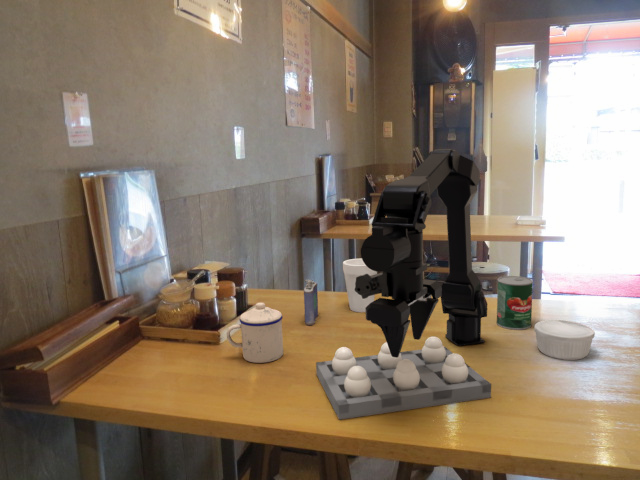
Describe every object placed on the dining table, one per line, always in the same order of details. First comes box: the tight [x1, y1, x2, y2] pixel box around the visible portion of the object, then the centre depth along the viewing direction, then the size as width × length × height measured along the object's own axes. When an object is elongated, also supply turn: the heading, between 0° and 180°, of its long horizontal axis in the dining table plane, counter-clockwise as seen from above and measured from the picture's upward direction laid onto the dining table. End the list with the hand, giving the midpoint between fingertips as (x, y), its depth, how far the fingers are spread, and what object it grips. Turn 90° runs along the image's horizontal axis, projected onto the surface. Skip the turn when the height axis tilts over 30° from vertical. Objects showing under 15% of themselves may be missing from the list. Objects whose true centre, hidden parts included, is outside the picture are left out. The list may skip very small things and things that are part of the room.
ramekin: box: [533, 319, 595, 361], centre depth 108 cm, size 11×11×5 cm
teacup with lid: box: [226, 302, 284, 364], centre depth 112 cm, size 12×9×12 cm
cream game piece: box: [393, 359, 420, 392], centre depth 91 cm, size 5×5×6 cm
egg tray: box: [315, 335, 492, 421], centre depth 96 cm, size 18×27×7 cm, turn 102°
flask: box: [303, 279, 319, 327], centre depth 134 cm, size 9×3×11 cm, turn 172°
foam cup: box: [342, 257, 378, 313], centre depth 142 cm, size 10×9×13 cm
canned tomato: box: [496, 275, 534, 331], centre depth 125 cm, size 8×8×11 cm
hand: (406, 347), depth 90 cm, fingers open, 9 cm apart
